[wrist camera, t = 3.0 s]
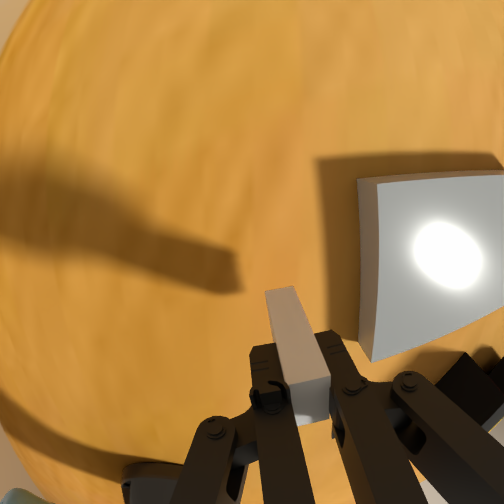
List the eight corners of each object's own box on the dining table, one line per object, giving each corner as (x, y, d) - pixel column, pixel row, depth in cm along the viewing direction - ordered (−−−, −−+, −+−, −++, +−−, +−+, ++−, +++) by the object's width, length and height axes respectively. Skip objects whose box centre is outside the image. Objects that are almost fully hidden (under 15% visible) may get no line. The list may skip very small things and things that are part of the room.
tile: (355, 338, 20) (371, 363, 17) (353, 177, 16) (376, 184, 13) (488, 290, 20) (507, 303, 18) (501, 168, 16) (525, 174, 13)
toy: (471, 459, 28) (416, 481, 17) (452, 430, 35) (386, 426, 25) (530, 398, 24) (531, 373, 14) (508, 372, 32) (484, 326, 21)
